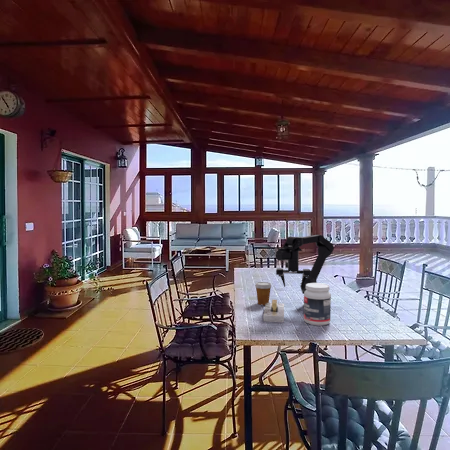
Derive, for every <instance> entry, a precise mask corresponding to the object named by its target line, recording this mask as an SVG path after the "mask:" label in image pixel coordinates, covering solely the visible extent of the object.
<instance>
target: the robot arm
mask: <svg viewBox="0 0 450 450" xmlns="http://www.w3.org/2000/svg"><path fill="white" fill-rule="evenodd" d="M314 243H315V246H316V247H318V248H317V256H316V258H315V261H314V263H313V265H312V267H311V269H310V268H302V270H299V267H300V266H299V264H300V263H299V259H300V257H299V255H300V254H299V253H300V252H302V249H301V248H300V247H302V246H303V245H306V244H314ZM334 250H335V246H334V244H333V243H332V242H330V240H328V239H327V238H325V237H324V236H323V235H322V234H315V235H313V234H312V235H307V236H301V237H300V236H288V237H287V239H286V241H285V243H284V244H283V246H282V247H278V248H277V250H276V252H275V254H274V255H275V259H276V260H277V261H279V262H280V261H285V263H284V264H285V269H284V267H283V268H276V269H275V275H276V276H278V277H280V279H281V281H282V284H283V288H286V281H285V274H290V275H291V274H297V275H302V276H301V282H300V286H299V287H300V290H301V293H302V294H303V295H304V292H305V291H306V288H305V287H306V284H308V283H318V282H317V280H318V277H319V275H320V273H321V271H322V269H323V267H324V264H325V261H326V260H327V259H328V257H330V256H331V255H332V254H333V252H334Z"/></svg>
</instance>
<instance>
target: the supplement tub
mask: <svg viewBox="0 0 450 450" xmlns="http://www.w3.org/2000/svg"><path fill="white" fill-rule="evenodd" d="M305 288H306V291H305V292H304V294H303V321H304V322H305V323H307V324H309V325H312V326H317V327H318V326H321V327H322V326H326V325H329V324H330V323H331V321H332V320H331V318H332V317H331V314H332V313H331V308H332V306H331V303H332V301H331V299H332V298H331V297H332V294H331V292H330V291H329V290H331V289H330V284H328V283H322V282H317V283H308V284H306V287H305Z"/></svg>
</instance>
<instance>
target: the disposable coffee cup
mask: <svg viewBox="0 0 450 450" xmlns="http://www.w3.org/2000/svg"><path fill="white" fill-rule="evenodd" d="M254 286H255V290H256V299H257V304H258V305H259V306H265V305H266V303H270V296H271V295H270V294H271V288H272V284H271V282H268V281H258V282H255V284H254Z"/></svg>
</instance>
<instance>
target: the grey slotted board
mask: <svg viewBox="0 0 450 450" xmlns="http://www.w3.org/2000/svg"><path fill="white" fill-rule="evenodd" d="M264 306H265V307H264V311H263V312H264V313H263V322H264V323H282V324H283V323H285V303H281V302H277V308H276V312H273V308H272V302H269V303H266V305H264Z"/></svg>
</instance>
